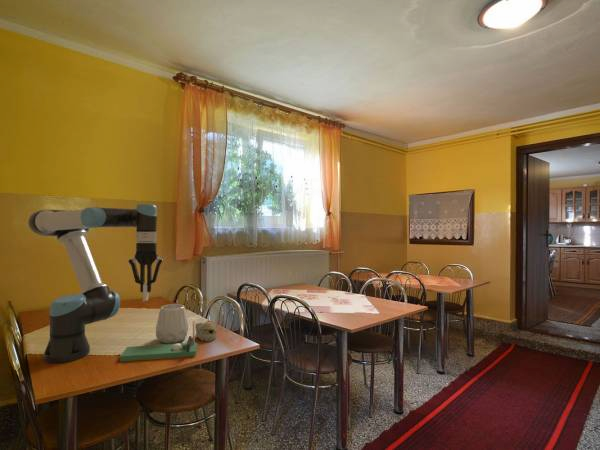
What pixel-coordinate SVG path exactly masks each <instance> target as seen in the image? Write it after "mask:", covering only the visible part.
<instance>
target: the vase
mask: <svg viewBox="0 0 600 450" xmlns="http://www.w3.org/2000/svg"><path fill="white" fill-rule="evenodd" d="M188 331H189V323H188V317H187V312H186V307H185V305H183V304H179V303H174V304H171V303H170V304H166V305H163V306H161V307H160V309H159V312H158V318H157V322H156V326H155V337H156V339H157V341H158V342H160V343H162V344H176V343H179V342H181V341H184V340H185V339H186V337H187V335H188Z"/></svg>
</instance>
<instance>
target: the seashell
mask: <svg viewBox="0 0 600 450" xmlns="http://www.w3.org/2000/svg"><path fill="white" fill-rule="evenodd" d="M195 334H196V336H197V338H198V339H199V341H201V342H213V341H214V340H215V339H216V337H217V336H216V335H217V326H216V324H215V323H213V322H211V321H204V322H203V321H200V322H195Z"/></svg>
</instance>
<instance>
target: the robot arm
mask: <svg viewBox="0 0 600 450" xmlns="http://www.w3.org/2000/svg"><path fill="white" fill-rule="evenodd" d="M157 210H158V208H157V205H155V204H151V203H138V204H137V205H136V208H118V207H117V208H113V207H111V208H110V207H98V206H91V207H90V206H89V207H85V208H82V209H81V208H80V209H74V210H73V209H69V210H63V209H61V210H60V209H40V210H37V211H35V212H33V213H32V214H30V216H29V218H28V221H27V224H28V227H29V229H30V230H31V231H32V232H33V233H34V234H37V235H39V236H42V237H43V236H45V237H56V239H57V241H58V242H59V243H60V244H62V245H63V246H64V248H65V250H66V253H67V255H68V259H69V262H70V265H71V267H72V269H73V272H74V275H75V278H76V280H77V283H78V286H79V289H80V290H81V292H80V293H76V294H69V295H67V294H66V295H63V296H60V297H58V298H56V299H54V300H52V302H51V304H50V305H49V306H50V307H49V313H48V314H49V339H48V342H47V345H46V348H45V350H44V353H43V360H44V361H45V362H46V363H49V364H50V363H51V364H61V363H67V362H71V361H76V360H79V359H82V358H84V357H86V356H87V355H89V354H90V351H91V349H90V347H91V346H90V343H89V340H88V338H87V336H86V325H90V324H94V323H97V322H100V321H106V320H107V319H110V318H113V317H115V316H116V315H117V314H118V312H119V311H120V310H119V309H120V307H121V298H120V295H119V293H118V292H116V291H114V290H111V289H110V287H109V285H108V284H105V283H104V282H103V280H102V278H101V275H100V272H99V270H98V267H97V264H96V261H95V259H94V256H93V254H92V252H91V249H90V246H89V244H88V241H87V239H86V238H87V236H88V234H89V232H90V229H91V228H92V229H93V228H94V229H96V228H135V229H136V232H135V233H136V235H135V236H136V237H135V240H136V243H135V254H134V257H133V258H131V259H128V263H129V265H130V266H131V270H132V274H133V277H134V278H133V279H134V281H135V283H136V284H138V285H139V287H140V289H139V291H140V293H142V301H143V302H147V301H148V300H149V293H151V291H152V284H154V283H156V282H157V279H158V274H159V272H160V268H161V265H162V263H163V262H164V259H163V258H160V257H158V256H159V255H158V254H157V237H158V235H157V234H158V232H157V229H158V223H157V221H158V211H157ZM155 261H156V265H155V268H154V272H153V268H152V267H153V264H154V262H155ZM136 263H138V264H139V265H140V266H139V267H140V269H139V270H140V271H138V267H137V264H136ZM146 272H147V274H146ZM152 272H153V274H152ZM145 278H146V280H145Z"/></svg>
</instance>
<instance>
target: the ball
mask: <svg viewBox="0 0 600 450" xmlns="http://www.w3.org/2000/svg"><path fill="white" fill-rule="evenodd" d="M173 344H174V345H173V347H172V351H176V350H182V345H181V344H182V343H179V342H176V343H173Z"/></svg>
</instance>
